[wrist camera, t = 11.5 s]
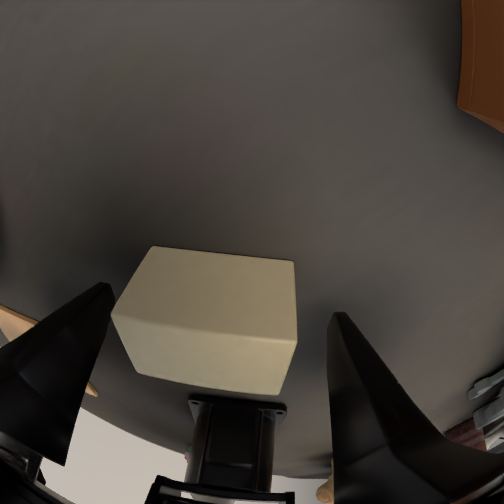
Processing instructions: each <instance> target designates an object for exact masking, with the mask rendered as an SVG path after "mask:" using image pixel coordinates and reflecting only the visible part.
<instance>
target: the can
mask: <svg viewBox="0 0 504 504" xmlns="http://www.w3.org/2000/svg"><path fill="white" fill-rule="evenodd" d="M445 437H446V438H447V439H449V440H451V441H453V442H456V443H459V444H462V445H465V446H469V447H472V448H475V449H478V450H482V451H485V452H487V447H486V442H485V437H484V433H483V429H482V428H481V429H479V430H477V429H476V427H475V422H474V418H472V419H469V420H467V421H465V422H463V423H461V424H459V425H457V426H455V427H454V428H452V429H450V430H449V431H448V432H447V433H446V435H445Z"/></svg>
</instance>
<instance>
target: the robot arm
mask: <svg viewBox="0 0 504 504" xmlns="http://www.w3.org/2000/svg"><path fill="white" fill-rule="evenodd" d="M114 306H115V297H114V294H113V291H112V288H111V285H110V284H109V283H105V282H99V283H97V284H96V285H94V286H93V287H91V288H90V289H88V290H86V291H85V292H83V293H82V294H80V295H79V296H77V297H76V298H74V299H73V300H71V301H70V302H68V303H67V304H65V305H64V306H62V307H61V308H59V309H58V310H56V311H55V312H53V313H52V314H50V315H49V316H47V317H46V318H44V319H43V320H42V321H40V322H39V323H37V324H36V325H34V327H31V328H30V329H29V330H27V331H26V332H24V333H23V334H22V335H20V336H19V337H17V338H16V339H14V340H12V341H11V342H9V343H8V344H6V345H4V346H3V347H1V348H0V504H75V503H73V502H71V501H69V500H67V499H66V498H64V497H62V496H60V495H59V494H57V493H55V492H54V491H52V490H50V489H49V488H47V487H46V486H45V484H46V481H45V479H44V477H43V474H42V472H41V469H40V465H41V462H42V459H43V457H45V458H47V459H49V460H51V461H53V462H55V463H57V464H59V465H61V466H65V462H66V458H67V454H68V449H69V445H70V441H71V437H72V434H73V430H74V426H75V422H76V419H77V415H78V412H79V409H80V406H81V402H82V399H83V396H84V393H85V390H86V387H87V384H88V381H89V378H90V376H91V373H92V370H93V367H94V364H95V362H96V359H97V357H98V354H99V351H100V349H101V346H102V344H103V341H104V338H105V336H106V332H107V329H108V326H109V322H110V319H111V312H112V310H113V308H114ZM327 380H328V390H329V402H330V415H331V430H332V448H333V471H334V472H333V482H334V504H504V475H503V473H504V451H503V452H502V453H489V452H485V451H482V450H478V449H475V448H472V447H469V446H465V445H462V444H459V443H456V442H453V441H451V440H449V439H447V438H446V437H445V436H443V435H442V434H441V433H440V432H439V431H438V430H437V429H436V427H435V426H434V425H433V424H432V423H431V422H430V421H429V419H428V418H427V417H426V416H425V415H424V414H423V413H422V412H421V410H420V409H419V408H418V407H417V406H416V404H415V403H414V402H413V401H412V400H411V398H410V397H409V396H408V394H407V393H406V392H405V390H404V389H403V388H402V386H401V385H400V384H399V383H398V381H397V379H396V378H395V377H394V375H393V374H392V373H391V371H390V370H389V369H388V367H387V366H386V365H385V363H384V362H383V361H382V359H381V358H380V357H379V355H378V354H377V353H376V351H375V350H374V349H373V347H372V346H371V345H370V343H369V342H368V341H367V339H366V338H365V337H364V335H363V334H362V333H361V332H360V330H359V329H358V328H357V326H356V325H355V324H354V323H353V321H352V320H351V319H350V317H349V316H348V315H347V314H346V313H345V312H334V313H333V315H332V318H331V320H330V322H329V325H328V328H327ZM188 404H189V406H190V409H191V412H192V415H193V418H194V421H195V424H196V425H195V430H194V435H193V440H192V445H191V450H190V455H189V460H188V465H187V470H186V475H185V481H184V482H180V481H175V480H171V479H169V478H167V477H164V476H160V475H157V476H156V479H155V482H154V483H153V484H152V486H151V488H150V491H149V494H148V496H147V498H146V501H145V503H144V504H216V503H209V502H203V501H198V500H193V499H188V498H183V497H181V492H186V493H191V494H196V495H201V496H207V497H214V498H221V499H229V500H238V501H250V502H270V503H271V502H273V503H279V504H295V492H284V493H271V482H272V468H273V453H274V437H275V434H276V432H277V431H278V429H279V427H280V425H281V423H282V422H283V420H284V418H285V416H286V414H287V407H286V406H284V405H271V404H258V403H248V402H239V401H230V400H223V399H216V398H210V397H204V396H198V395H190V396H189V399H188Z"/></svg>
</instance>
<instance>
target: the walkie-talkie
mask: <svg viewBox="0 0 504 504" xmlns="http://www.w3.org/2000/svg"><path fill="white" fill-rule="evenodd" d="M503 425H504V416H502V417H501V418H499V419H497V420H495V421H494V422H492V423H490V424H488V425H486V426H484V427H483V428H482V429H483V433H484V437H487V436H489V435H491V434H492V433H494V432H495V431H496V430H498V429H499V428H500V427H501V426H503Z"/></svg>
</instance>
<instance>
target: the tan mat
mask: <svg viewBox="0 0 504 504" xmlns="http://www.w3.org/2000/svg"><path fill="white" fill-rule="evenodd" d="M37 323H39V322H38V321H35V320H33V319H31V318H28V317H26V316H23V315H21V314H19V313H17V312H14V311H12V310H10V309H8V308H6V307H4V306H2V305H0V328H1V330H2V331H3V333H4V334H5V335H6V337H7V338H8V340H9V341H10V342H11V341H12V340H14V339H16V338H17V337H19V336H20V335H22V334H23V333H24V332H26V331H27V330H29V329H30V328H31V327H34V325H36V324H37ZM85 392H86V393H89V394H91V395H94V396H96V397H97V396H98V393H97V391H96V390H95V389H94V388H93V387H92V385H91V384H90V383H89V382H88V384H87V387H86V390H85Z"/></svg>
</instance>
